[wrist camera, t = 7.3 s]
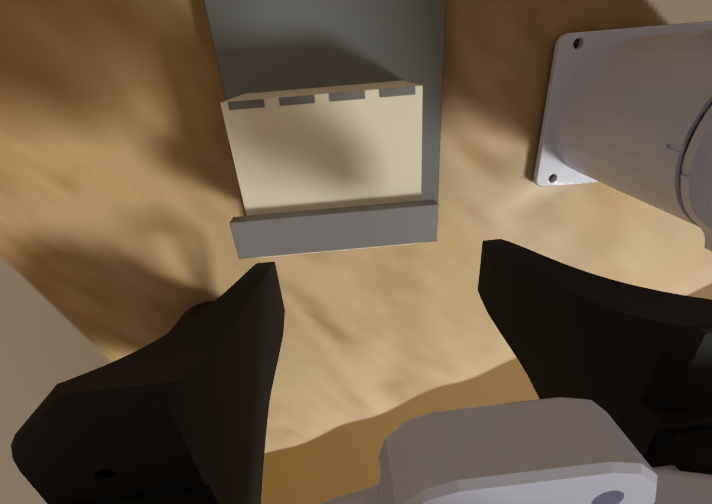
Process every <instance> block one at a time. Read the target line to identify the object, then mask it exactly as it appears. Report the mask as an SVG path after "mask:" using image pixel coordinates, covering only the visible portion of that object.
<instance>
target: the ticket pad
mask: <svg viewBox="0 0 712 504" xmlns="http://www.w3.org/2000/svg"><path fill="white" fill-rule="evenodd" d="M422 99H423V85H419V84H415V83H411V82H407V81H404V80H402V81H390V82H378V83H366V84H354V85H342V86H330V87H318V88H306V89H295V90H283V91H271V92H259V93H247V94H243V95H240V96H237V97H234V98H232V99H229V100H226V101H223V102H220V104H221V108H222V113H223V117H224V121H225V125H226V130H227V134H228V138H229V143H230V147H231V151H232V156H233V160H234V164H235V168H236V173H237V177H238V181H239V186H240V190H241V194H242V198H243V203H244V207H245V211H246V216H240V217H233V218H232V220H231V222H230V227H231V231H232V235H233V239H234V243H235V247H236V250H237V254H238V258H239V259H244V258H255V257H256V258H263V257H274V256H285V255H296V254H307V253H318V252H329V251H341V250H352V249H363V248H374V247H385V246H396V245H407V244H418V243H422V242H433V241H437V221H438V204H437V203H436V201H435V200H434V199H432V200H421V176H422Z"/></svg>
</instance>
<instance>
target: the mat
mask: <svg viewBox="0 0 712 504" xmlns="http://www.w3.org/2000/svg"><path fill="white" fill-rule="evenodd" d="M204 3H205V7H206V12H207V16H208V21H209V25H210V30H211V34H212V39H213V43H214V47H215V52H216V56H217V61H218V65H219V70H220V74H221V79H222V83H223V88H224V92H225V96H226V100H229V99H232V98H234V97H237V96H240V95H243V94H247V93H259V92H271V91H283V90H295V89H306V88H318V87H330V86H342V85H354V84H366V83H378V82H390V81H402V80H404V81H407V82H411V83H415V84H419V85H423V99H422V176H421V200H432V199H434V200H435V201H436V203H437V204H438V188H439V160H440V132H441V105H442V77H443V50H444V22H445V0H204Z"/></svg>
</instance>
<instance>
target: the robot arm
mask: <svg viewBox="0 0 712 504" xmlns="http://www.w3.org/2000/svg"><path fill="white" fill-rule="evenodd" d="M711 29H712V21H709V22H708V21H707V22H696V23H683V24H671V25H659V26H647V27H634V28H622V29H610V30H598V31H586V32H574V33H566V34H563V35H561V36H560V37H559V38H558V40H557V41H556V44H555V49H554V55H553V62H552V68H551V74H550V80H549V86H548V92H547V98H546V105H545V111H544V117H543V123H542V129H541V135H540V141H539V148H538V154H537V160H536V166H535V172H534V183H535V184H536V185H538V186H540V187H548V186H559V185H570V184H582V183H593V182H601V183H603V184H605V185H608V186H610V187H612V188H614V189H616V190H619V191H621V192H623V193H625V194H627V195H630V196H632V197H634V198H636V199H639V200H641V201H643V202H645V203H647V204H650V205H652V206H654V207H656V208H658V209H661V210H663V211H665V212H667V213H670V214H672V215H674V216H676V217H678V218H681V219H683V220H685V221H687V222H689V223H692V224H694V225H696V226H698V227H700V228H701V229H702V230H703V232H704V235H705V248H706V249H708V250H710V251H712V30H711ZM576 39H578V40H579V44H578V47H577V48H576V49H574V47H573V43H574V41H575V40H576ZM552 174H554V177H553V179H552V180H550V181H549V176H551V175H552ZM478 292H479V294H480V296H481V299H482V301H483V303H484V306H485V308H486V310H487V312H488V314H489V315H490V317H491V319H492V320H493V322H494V323H495V325H496V326H497V328H498V330H499V331H500V333H501V334H502V336H503V337H504V339H505V340H506V342H507V343H508V345H509V346H510V348H511V349H512V351H513V352H514V354H515V355H516V357H517V358H518V360H519V361H520V363H521V365H522V366H523V368H524V370H525V371H526V373H527V375H528V377H529V379H530V381H531V383H532V384H533V387H534V388H535V390H536V392H537V394H538V396H539V398H540V399H539V400H530V401H522V402H513V403H504V404H496V405H486V406H478V407H469V408H460V409H452V410H443V411H434V412H431V413H428V414H424V415H421V416H417V417H414V418H410V419H408V420H406V421H405V422H404V423H403V424H401V425H400V426H399V427H398V428H396V429H395V430H394V431H392V432H391V433H390V434H389V435H388V436H387V437H386V438H385V440H384V443H383V446H382V449H381V452H380V455H379V465H380V480H379V483H378V484H375V485H372V486H369V487H366V488H363V489H360V490H357V491H354V492H351V493H348V494H345V495H342V496H339V497H336V498H334V499H331V500H328V501H324V502H322V503H319V504H712V300H710V299H704V298H697V297H690V296H684V295H678V294H672V293H667V292H662V291H657V290H652V289H648V288H643V287H638V286H634V285H630V284H626V283H622V282H618V281H615V280H611V279H608V278H604V277H601V276H597V275H594V274H591V273H588V272H585V271H582V270H579V269H577V268H574V267H571V266H568V265H566V264H563V263H560V262H558V261H555V260H553V259H550V258H548V257H545V256H543V255H541V254H538V253H536V252H533V251H531V250H529V249H526V248H524V247H521V246H519V245H516V244H514V243H511V242H508V241H505V240H502V239H497V240H487V241H483V245H482V254H481V264H480V274H479V284H478ZM284 313H285V310H284V305H283V300H282V295H281V290H280V285H279V280H278V276H277V271H276V266H275V262H267V263H257V264H255V265H254V266H253V267H252V268H251V269H250V270H249V271H248V272H246V273H245V274H244V275H243V276H242V277H241V278H240V279H239V280H238V281H237V282H236V283H235V284H234V285H233V286H231V287H230V288H229V289H228V290H227V291H226V292H225V293H224V294H223V295H221V296H220V297H219V298H218V299H216V300H215V301H214V302H213V303H212V304H210V305H209V306H208V307H207V308H206V309H204V310H203V311H202V312H200V313H199V314H198V315H196V316H195V317H193V318H192V319H191V320H189V321H188V322H186V323H185V324H183V325H182V326H180V327H179V328H177V329H175V330H174V331H172V332H170V333H168V334H167V335H165V336H163V337H161V338H160V339H158V340H156V341H154V342H153V343H151V344H149V345H147V346H145V347H144V348H142V349H140V350H138V351H136V352H134V353H132V354H129V355H127V356H125V357H123V358H121V359H119V360H116V361H114V362H112V363H110V364H107V365H105V366H103V367H100V368H98V369H96V370H93V371H91V372H88V373H85V374H83V375H80V376H78V377H75V378H73V379H70V380H67V381H65V382H62V383H59V384H57V385H56V386H55V387H54V389H53V390H52V391H51V393H50V394H49V395H48V396H47V397H46V398H45V399H44V401H43V402H42V403H41V404H40V405H39V407H38V408H37V409H36V410H35V411H34V413H33V414H32V415H31V416H30V417H29V419H28V420H27V421H26V422H25V423H24V424H23V426H22V427H21V428H20V429H19V431H18V432H17V433H16V434H15V436H14V439H13V441H12V444H11V449H12V456H13V460H14V462H15V463H16V465H17V467H18V468H19V470H20V472H21V473H22V474H23V475H24V476H25V478H26V479H27V480H28V481H29V482H30V483H31V485H32V486H33V487H34V488H35V489H36V490H37V492H38V493H39V494H40V495H41V496H42V498H43V499H44V500H45V501H46V502H47V503H48V504H261V490H262V476H263V462H264V450H265V438H266V428H267V418H268V408H269V401H270V395H271V389H272V384H273V380H274V375H275V371H276V366H277V361H278V357H279V352H280V347H281V342H282V338H283V329H284Z"/></svg>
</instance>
